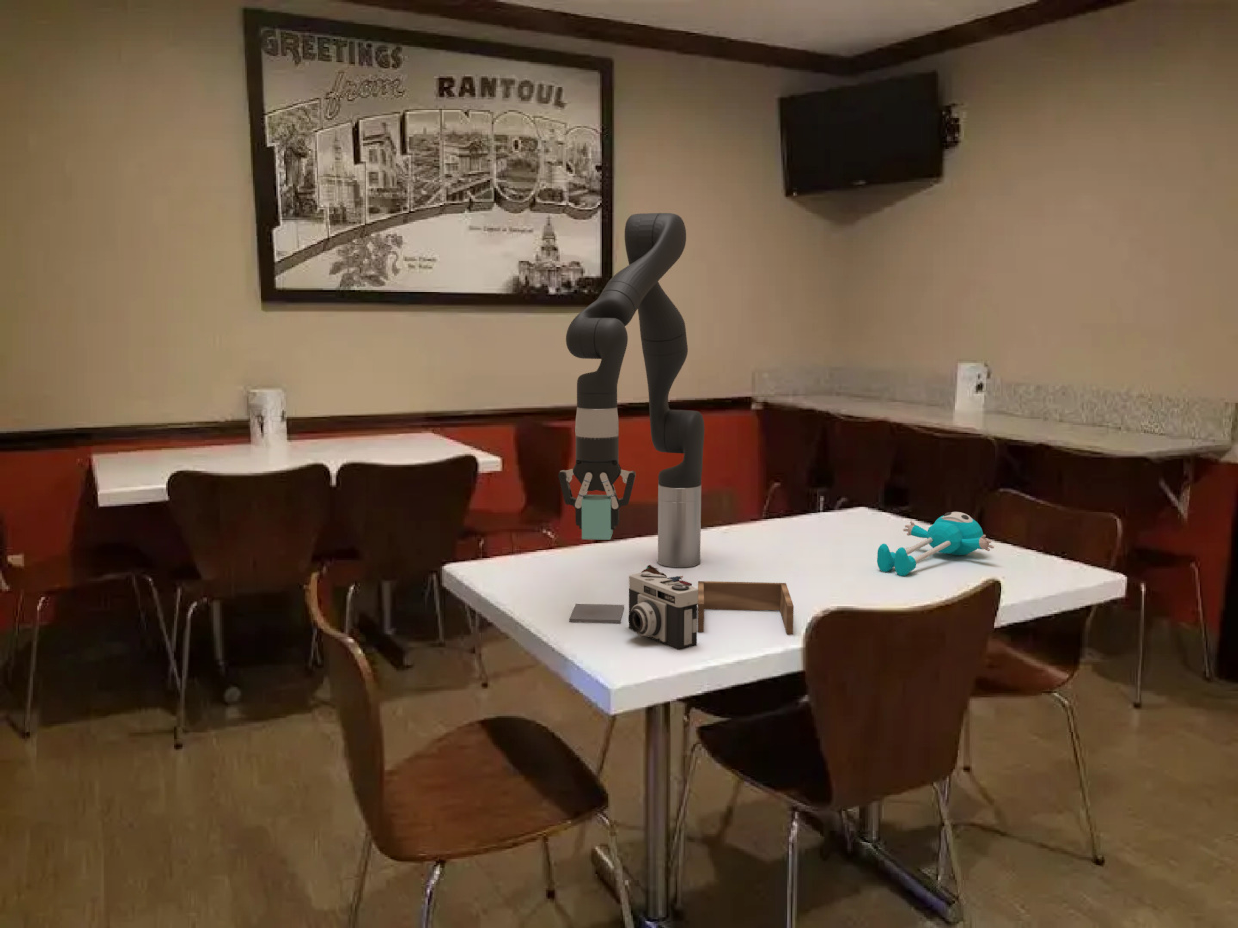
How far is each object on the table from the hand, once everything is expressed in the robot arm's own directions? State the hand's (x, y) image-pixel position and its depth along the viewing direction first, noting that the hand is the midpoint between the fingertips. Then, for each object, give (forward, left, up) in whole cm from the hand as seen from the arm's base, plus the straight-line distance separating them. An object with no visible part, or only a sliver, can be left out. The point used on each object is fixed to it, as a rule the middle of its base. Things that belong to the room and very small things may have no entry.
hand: (597, 528), depth 172 cm
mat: (0, 0, -16) cm, 16 cm away
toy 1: (-16, +13, -17) cm, 26 cm away
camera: (+12, +11, -16) cm, 23 cm away
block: (0, 0, -1) cm, 1 cm away
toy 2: (-43, +68, -16) cm, 82 cm away
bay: (+1, +26, -16) cm, 31 cm away
